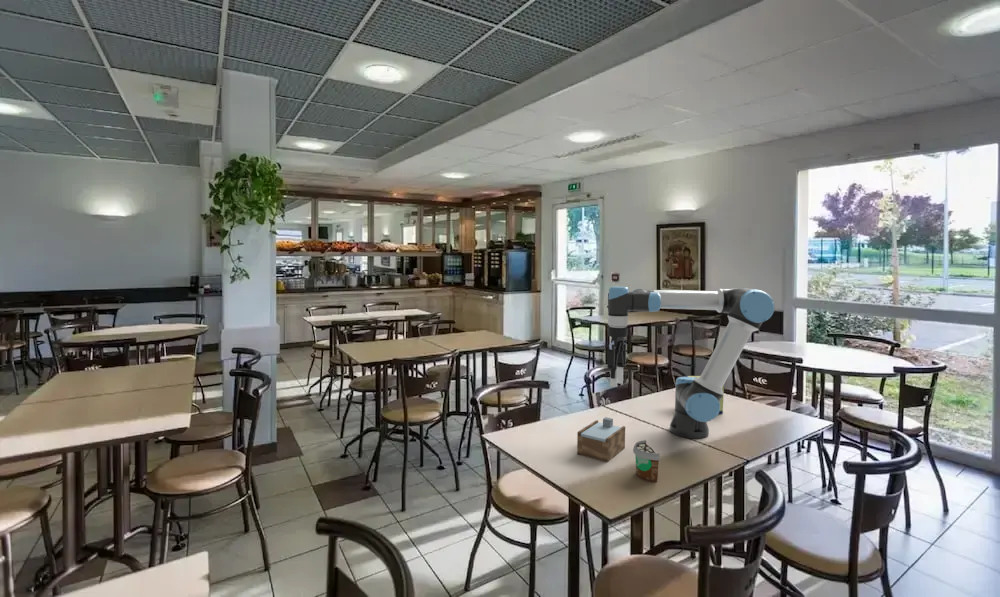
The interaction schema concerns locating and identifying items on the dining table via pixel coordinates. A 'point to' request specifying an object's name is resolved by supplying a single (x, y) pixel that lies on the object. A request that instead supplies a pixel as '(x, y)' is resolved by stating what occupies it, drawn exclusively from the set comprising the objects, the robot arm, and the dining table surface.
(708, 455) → the dining table surface
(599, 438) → the cover plate
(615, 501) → the dining table surface
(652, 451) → the food container
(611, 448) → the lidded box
